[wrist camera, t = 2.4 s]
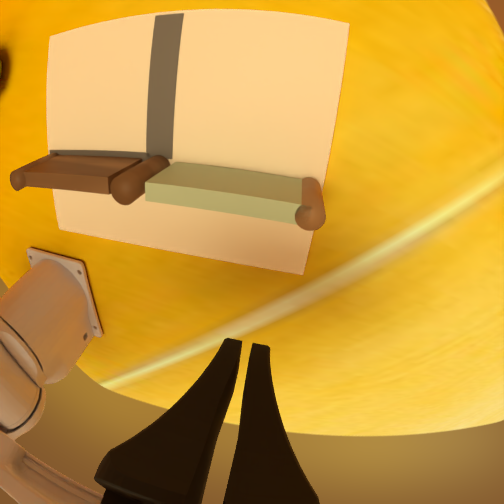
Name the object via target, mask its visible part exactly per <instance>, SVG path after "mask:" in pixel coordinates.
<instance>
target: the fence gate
mask: <svg viewBox="0 0 504 504" xmlns="http://www.w3.org/2000/svg"><path fill="white" fill-rule="evenodd" d="M145 201H149V202H156V203H164V204H171V205H178V206H185V207H191V208H198V209H205V210H211V211H218V212H224V213H231V214H237V215H243V216H249V217H255V218H261V219H267V220H273V221H279V222H284V223H290V224H296V225H298V226H299V227H300V228H302V229H304V230H307V231H314V230H317V229H319V228H320V227H321V226H322V225H323V224H324V222H325V218H326V215H325V208H324V202H323V196H322V191H321V186H320V183H319V182H318V181H317V180H316V179H314V178H311V177H306V178H303V179H298V178H292V177H286V176H280V175H274V174H268V173H261V172H255V171H248V170H241V169H233V168H226V167H218V166H210V165H201V164H192V163H182V162H175V163H173V164H171V165H170V166H168V167H167V168H165V169H164V170H162V171H161V172H159V173H158V174H156V175H155V176H153V177H152V178H150V179H149V180H147V181H146V182H145Z"/></svg>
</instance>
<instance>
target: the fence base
mask: <svg viewBox="0 0 504 504" xmlns="http://www.w3.org/2000/svg"><path fill="white" fill-rule="evenodd" d="M168 166H170V162H169V161H168V159H166V158H165V157H163V156H161V155H155V156H153V157H151V158H149V159H147V160H145V161H143V162H142V158H128V157H110V156H83V155H59V154H57V153H52V154H49V155H47V156H45V157H42V158H40V159H38V160H36V161H33V162H31V163H29V164H27V165H25V166H23V167H21V168H18V169H16V170H14V171H12V172H11V174H10V182H11V185H12V187H13V188H14V189H15V190H16V191H19V190H20V189H22V188H24V187H26V186H30V187H41V188H51V189H61V190H71V191H80V192H89V193H98V194H107V195H109V194H112V197H113V198H114V200H115V201H116V202H118V203H119V204H121V205H130V204H131V203H133V202H134V201H135V200H137V199H138V198H139V197H140V196H142V195H143V194H144V193H145V182H146V181H147V180H149V179H150V178H152V177H153V176H155V175H156V174H158V173H159V172H161V171H162V170H164V169H165V168H167V167H168Z"/></svg>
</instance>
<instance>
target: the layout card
mask: <svg viewBox="0 0 504 504" xmlns="http://www.w3.org/2000/svg"><path fill="white" fill-rule="evenodd" d="M348 32H349V23H345V22H340V21H335V20H330V19H325V18H319V17H313V16H307V15H300V14H292V13H284V12H274V11H261V10H242V9H202V10H183V11H170V12H160V13H152V14H144V15H138V16H131V17H125V18H120V19H115V20H110V21H105V22H101V23H96V24H92V25H88V26H84V27H80V28H77V29H73V30H70V31H66V32H63V33H60V34H57V35H53V36H50V43H49V53H48V67H47V137H48V151H49V154H52V153H57V154H59V155H83V156H110V157H128V158H142V162H143V161H145V160H147V159H149V158H151V157H153V156H155V155H161V156H163V157H165V158H166V159H168V161H169V162H170V165H171V164H173V163H175V162H182V163H192V164H201V165H210V166H218V167H226V168H233V169H241V170H248V171H255V172H261V173H268V174H274V175H280V176H286V177H292V178H298V179H303V178H306V177H311V178H314V179H316V180H317V181H318V182H319V183H320V186H321V191H322V190H323V185H324V180H325V175H326V170H327V165H328V160H329V154H330V149H331V144H332V138H333V133H334V127H335V121H336V115H337V109H338V103H339V97H340V91H341V84H342V77H343V70H344V63H345V56H346V49H347V41H348ZM53 195H54V202H55V208H56V214H57V220H58V225H59V229H61V230H65V231H70V232H75V233H80V234H85V235H90V236H95V237H100V238H105V239H110V240H115V241H121V242H126V243H131V244H136V245H141V246H146V247H152V248H157V249H162V250H167V251H173V252H178V253H183V254H189V255H194V256H199V257H205V258H210V259H215V260H221V261H226V262H232V263H237V264H243V265H248V266H254V267H260V268H265V269H271V270H276V271H282V272H288V273H294V274H299V275H303V273H304V269H305V265H306V261H307V257H308V253H309V248H310V244H311V240H312V236H313V231H307V230H304V229H302V228H300V227H299V226H298V225H296V224H290V223H284V222H279V221H273V220H267V219H261V218H255V217H249V216H243V215H237V214H231V213H224V212H218V211H211V210H205V209H198V208H191V207H185V206H178V205H171V204H164V203H156V202H149V201H145V193H144V194H143V195H142V196H140V197H139V198H138V199H137V200H135V201H134V202H133V203H131V204H130V205H121V204H119V203H118V202H116V201H115V200H114V198H113V197H112V194H109V195H107V194H98V193H89V192H80V191H71V190H61V189H53Z"/></svg>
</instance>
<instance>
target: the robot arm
mask: <svg viewBox="0 0 504 504" xmlns="http://www.w3.org/2000/svg"><path fill="white" fill-rule="evenodd" d="M27 255H28V258H29V262H30V265H31V269H30V270H29V271H28V272H27V273H26V274H25V275H23V276H22V277H21V278H20V279H19V280H18V281H17V282H16V283H15V284H14V285H13V286H12V287H11V288H10V289H9V290H8V291H7V292H6V293H5V294H4V295H3V296H2V297H1V298H0V487H1V488H2V489H3V490H4V491H5V492H6V493H7V494H9V495H10V496H11V497H12V498H13V499H14V500H16V501H17V502H18V503H19V504H201V503H202V498H203V494H204V490H205V486H206V482H207V478H208V473H209V469H210V465H211V461H212V457H213V453H214V449H215V445H216V441H217V437H218V435H219V432H220V429H221V426H222V424H223V421H224V418H225V415H226V412H227V409H228V407H229V404H230V401H231V398H232V395H233V392H234V388H235V383H236V379H237V374H238V369H239V362H240V355H241V347H242V341H240V340H235V339H230V338H226V339H224V341H223V343H222V345H221V347H220V349H219V351H218V352H217V354H216V355H215V357H214V358H213V360H212V361H211V363H210V364H209V365H208V367H207V368H206V369H205V371H204V372H203V373H202V375H201V376H200V377H199V378H198V380H197V381H196V382H195V383H194V384H193V385H192V387H191V388H190V389H189V390H188V391H187V392H186V393H185V394H184V395H183V396H182V397H181V398H180V399H179V400H178V401H177V402H176V403H175V404H174V405H173V406H172V407H171V408H170V409H169V410H168V411H167V412H166V413H164V414H163V415H162V416H161V417H160V418H159V419H157V420H156V421H155V422H153V423H152V424H151V425H149V426H148V427H147V428H145V429H144V430H142V431H141V432H139V433H138V434H137V435H135V436H134V437H132V438H131V439H129V440H127V441H125V442H124V443H122V444H120V445H118V446H117V447H115V448H113V449H111V450H110V451H109V452H108V453H107V454H106V456H105V457H104V458H103V460H102V461H101V463H100V465H99V467H98V469H97V472H96V474H95V477H94V479H95V481H96V482H97V483H99V484H100V485H102V486H103V487H104V488H106V491H105V493H104V495H101V494H100V493H98V492H95V491H93V490H91V489H89V488H87V487H85V486H83V485H81V484H80V483H78V482H76V481H74V480H72V479H70V478H68V477H66V476H65V475H63V474H61V473H59V472H58V471H56V470H55V469H53V468H51V467H50V466H48V465H46V464H45V463H43V462H42V461H40V460H39V459H37V458H36V457H34V456H32V455H31V454H30V453H28V452H27V451H26V450H25V449H24V448H23V447H21V446H20V445H19V444H18V443H16V442H15V441H14V440H15V439H16V438H18V437H19V436H20V435H22V434H23V433H26V432H28V431H29V430H30V429H32V428H33V427H34V426H35V424H36V423H37V422H38V421H39V419H40V417H41V416H42V414H43V411H44V407H45V401H46V392H45V389H44V387H43V385H44V384H52V383H55V382H58V381H60V380H62V379H63V378H64V377H65V376H67V374H68V373H69V372H70V371H71V369H72V368H73V366H74V365H75V363H76V362H77V360H78V359H79V357H80V356H81V354H82V353H83V351H84V350H85V348H86V347H87V345H88V344H89V342H90V341H91V339H92V338H93V337H94V336H96V337H102V335H103V333H102V329H101V326H100V323H99V320H98V316H97V313H96V309H95V306H94V302H93V298H92V295H91V291H90V287H89V283H88V279H87V275H86V270H85V266H84V264H83V263H82V262H81V261H79V260H75V259H71V258H67V257H63V256H60V255H56V254H52V253H49V252H45V251H41V250H38V249H34V248H31V247H29V248H28V249H27ZM223 504H320V503H319V499H318V496H317V494H316V493H315V491H314V490H313V488H312V486H311V485H310V483H309V481H308V480H307V478H306V476H305V474H304V472H303V470H302V469H301V467H300V465H299V462H298V460H297V458H296V456H295V454H294V452H293V449H292V447H291V445H290V442H289V440H288V437H287V434H286V432H285V429H284V426H283V423H282V420H281V416H280V413H279V409H278V405H277V402H276V397H275V393H274V387H273V382H272V376H271V367H270V347H269V346H267V345H261V344H256V343H253V344H252V348H251V353H250V357H249V362H248V368H247V374H246V380H245V386H244V391H243V399H242V408H241V416H240V425H239V434H238V441H237V445H236V450H235V454H234V458H233V463H232V467H231V471H230V476H229V480H228V484H227V489H226V493H225V497H224V501H223Z"/></svg>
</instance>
